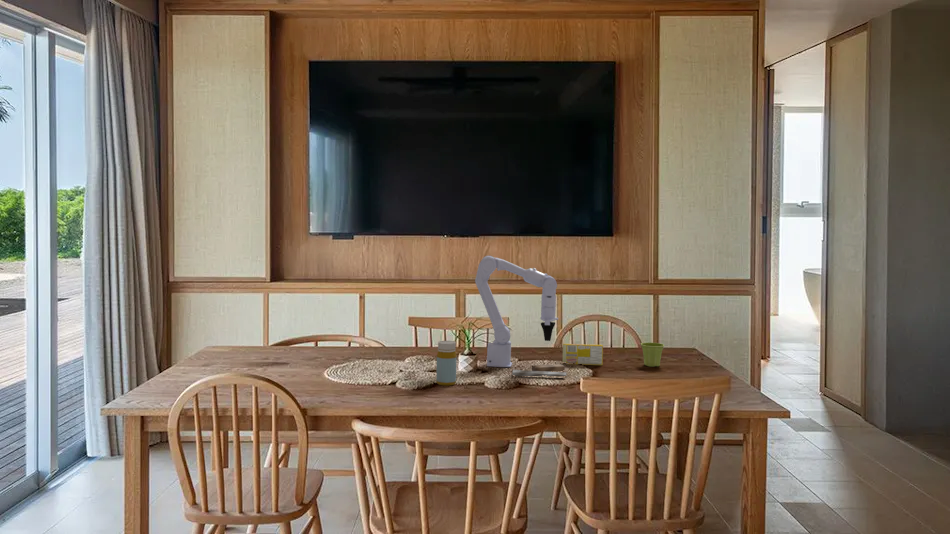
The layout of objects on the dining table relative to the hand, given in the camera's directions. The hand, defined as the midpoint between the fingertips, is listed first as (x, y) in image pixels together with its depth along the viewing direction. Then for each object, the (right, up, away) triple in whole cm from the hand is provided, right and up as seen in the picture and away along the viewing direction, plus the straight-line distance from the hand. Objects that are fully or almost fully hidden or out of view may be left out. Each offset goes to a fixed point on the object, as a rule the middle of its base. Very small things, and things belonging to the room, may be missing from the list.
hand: (547, 340), depth 316 cm
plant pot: (+43, -11, +7) cm, 45 cm away
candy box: (+15, -11, +7) cm, 19 cm away
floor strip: (-5, -12, -18) cm, 22 cm away
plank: (-1, -12, -11) cm, 16 cm away
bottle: (-39, -13, -33) cm, 53 cm away
